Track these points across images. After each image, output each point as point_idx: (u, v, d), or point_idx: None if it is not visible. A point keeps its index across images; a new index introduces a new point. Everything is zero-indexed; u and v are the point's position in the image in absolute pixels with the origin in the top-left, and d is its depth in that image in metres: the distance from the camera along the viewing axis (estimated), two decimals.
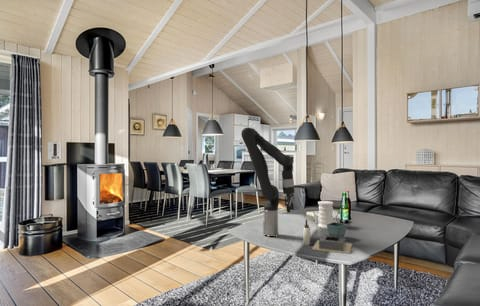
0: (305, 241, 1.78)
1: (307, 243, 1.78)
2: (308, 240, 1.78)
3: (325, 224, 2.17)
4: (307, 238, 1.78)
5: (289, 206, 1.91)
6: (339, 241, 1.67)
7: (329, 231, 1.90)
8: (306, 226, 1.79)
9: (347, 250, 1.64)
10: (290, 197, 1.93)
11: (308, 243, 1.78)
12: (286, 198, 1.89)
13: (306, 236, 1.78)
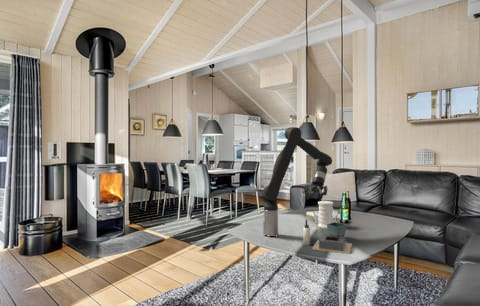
0: (305, 241, 1.78)
1: (307, 243, 1.78)
2: (308, 240, 1.78)
3: (325, 224, 2.17)
4: (307, 238, 1.78)
5: None
6: (339, 241, 1.67)
7: (329, 231, 1.90)
8: (306, 226, 1.79)
9: (347, 250, 1.64)
10: None
11: (308, 243, 1.78)
12: (326, 188, 1.92)
13: (306, 236, 1.78)
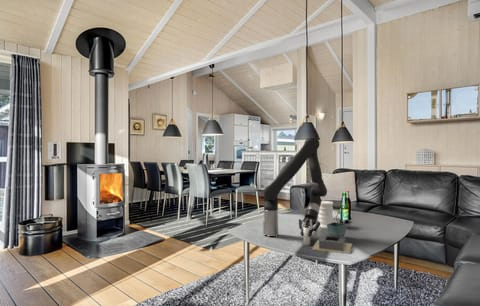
0: (305, 241, 1.78)
1: (307, 243, 1.78)
2: (308, 240, 1.78)
3: (325, 224, 2.17)
4: (307, 238, 1.78)
5: None
6: (339, 241, 1.67)
7: (329, 231, 1.90)
8: (306, 226, 1.79)
9: (347, 250, 1.64)
10: None
11: (308, 243, 1.78)
12: (319, 224, 1.79)
13: (306, 236, 1.78)
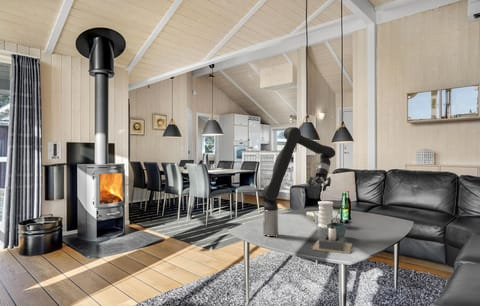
0: None
1: None
2: None
3: (325, 224, 2.17)
4: (333, 239, 1.71)
5: (325, 187, 1.92)
6: (339, 241, 1.67)
7: None
8: (332, 227, 1.72)
9: (347, 250, 1.64)
10: None
11: None
12: (330, 179, 1.94)
13: (332, 237, 1.71)
